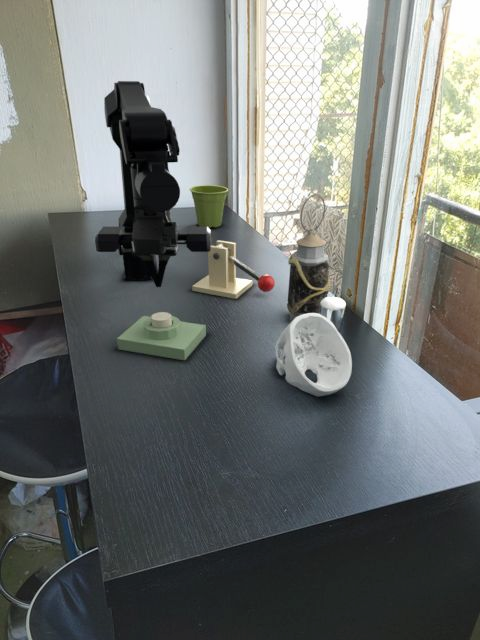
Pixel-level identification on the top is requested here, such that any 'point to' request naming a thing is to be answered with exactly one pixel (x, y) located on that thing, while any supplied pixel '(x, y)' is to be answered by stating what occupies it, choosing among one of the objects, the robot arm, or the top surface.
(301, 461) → the top surface
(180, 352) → the block
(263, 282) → the lever
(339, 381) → the skull bowl
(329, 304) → the milkshake
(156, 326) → the button
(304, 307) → the lantern
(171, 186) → the robot arm
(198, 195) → the plant pot
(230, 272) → the bracket
